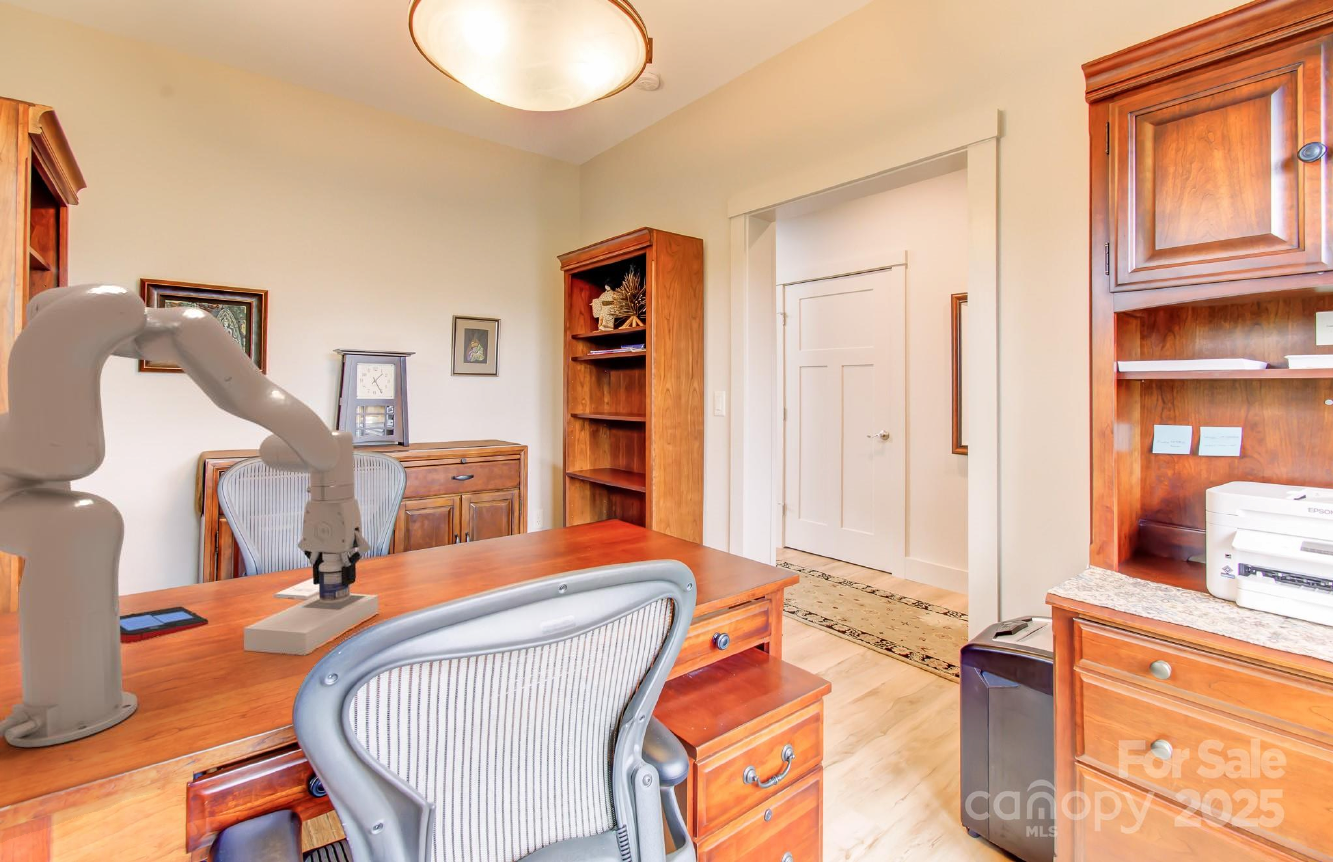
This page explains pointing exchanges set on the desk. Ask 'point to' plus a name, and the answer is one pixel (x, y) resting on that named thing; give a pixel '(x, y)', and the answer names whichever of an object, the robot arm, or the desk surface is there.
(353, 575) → the robot arm
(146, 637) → the game console
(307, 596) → the external hard drive
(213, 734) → the desk surface
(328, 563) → the pill bottle
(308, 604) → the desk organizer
